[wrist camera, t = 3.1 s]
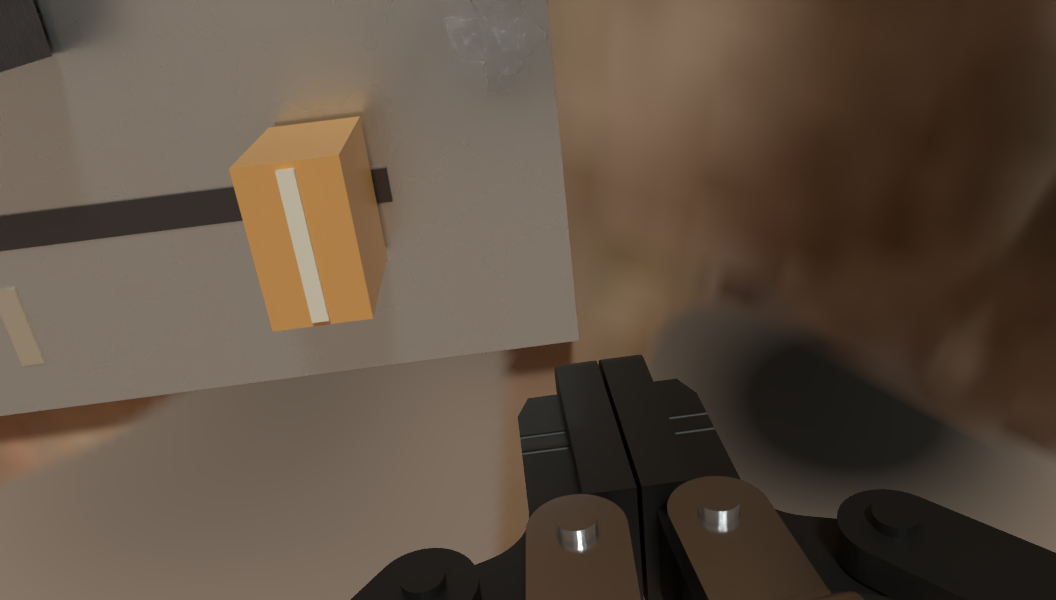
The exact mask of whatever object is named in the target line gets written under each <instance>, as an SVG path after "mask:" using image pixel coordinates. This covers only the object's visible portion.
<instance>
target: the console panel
mask: <svg viewBox="0 0 1056 600" xmlns="http://www.w3.org/2000/svg"><path fill="white" fill-rule="evenodd" d="M358 116H360V119H361V124H362V129H363V135H364V140H365V145H366V150H367V155H368V160H369V165H370V170H371V176H372V181H373V186H374V191H375V196H376V201H377V206H378V211H379V216H380V222H381V227H382V232H383V237H384V242H385V247H386V252H387V261H386V266H385V270H384V274H383V279H382V283H381V287H380V292H379V296H378V300H377V305H376V309H375V313H374V318H373V319H367V320H359V321H351V322H344V323H336V324H328V325H320V326H313V327H305V328H297V329H290V330H282V331H274V332H273V331H272V327H271V323H270V320H269V316H268V312H267V308H266V305H265V301H264V297H263V294H262V290H261V286H260V282H259V279H258V275H257V271H256V268H255V264H254V260H253V257H252V253H251V249H250V245H249V242H248V238H247V234H246V231H245V227H244V223H243V219H242V216H241V212H240V208H239V205H238V201H237V197H236V194H235V190H234V186H233V182H232V179H231V175H230V171H229V168H230V167H231V166H232V165H233V164H234V163H235V162H236V161H237V160H238V159H239V158H240V157H241V156H242V155H243V153H244V152H245V151H246V150H247V149H248V148H249V147H250V146H251V145H252V144H253V143H254V142H255V141H256V140H257V139H258V138H259V137H260V136H261V135H262V134H263V133H264V132H265V131H266V130H267V129H268V128H270V127H278V126H286V125H294V124H302V123H310V122H318V121H326V120H334V119H342V118H350V117H358ZM571 341H579V335H578V325H577V314H576V304H575V293H574V282H573V272H572V261H571V250H570V240H569V229H568V219H567V208H566V197H565V187H564V176H563V165H562V155H561V144H560V133H559V123H558V112H557V102H556V91H555V80H554V70H553V59H552V48H551V38H550V27H549V17H548V6H547V0H0V416H5V415H13V414H20V413H28V412H36V411H43V410H51V409H59V408H66V407H74V406H82V405H89V404H97V403H105V402H112V401H120V400H127V399H135V398H143V397H150V396H158V395H166V394H173V393H181V392H189V391H196V390H204V389H212V388H219V387H227V386H235V385H242V384H249V383H257V382H265V381H272V380H280V379H288V378H296V377H303V376H311V375H319V374H327V373H333V372H342V371H349V370H357V369H365V368H371V367H380V366H388V365H395V364H403V363H411V362H418V361H426V360H434V359H441V358H449V357H457V356H464V355H471V354H480V353H487V352H495V351H503V350H510V349H518V348H526V347H533V346H541V345H549V344H556V343H564V342H571Z"/></svg>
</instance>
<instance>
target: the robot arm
mask: <svg viewBox="0 0 1056 600" xmlns="http://www.w3.org/2000/svg"><path fill="white" fill-rule="evenodd" d="M555 381H556V390H557V395H550V396H543V397H535V398H528V400H527V401H526V403H525V405H524V407H523V409H522V410H521V412H520V414H519V416H518V422H519V431H520V439H521V448H522V456H523V465H524V473H525V482H526V490H527V499H528V507H529V520H528V523H527V526H526V531H525V532H524V534H523V535H522V537H521V538H520V539H519V540H518V541H517V542H516V544H514V545H513V546H512V547H511V548H509V549H508V550H507V551H505V552H503V553H502V554H500V555H498V556H496V557H494V558H491V559H489V560H487V561H484V562H482V563H479V564H477V565H474V564H473V563H472V562H471V560H470V559H469V558H467V557H466V556H465V555H463V554H461V553H459V552H456V551H453V550H450V549H444V548H429V549H422V550H418V551H414V552H411V553H408V554H405V555H403V556H401V557H399V558H397V559H396V560H394V561H393V562H391V563H390V564H389V565H387V566H386V567H385V568H384V569H383V570H382V571H381V572H379V573H378V574H377V576H375V577H374V578H373V579H372V580H371V581H370V582H369V583H368V584H367V585H366V586H365V587H364V588H362V590H360V591H359V592H358V593H357V594H356V595H355V596H354V597H353V598H352V599H351V600H644V599H645V600H1056V553H1055V552H1052V551H1050V550H1047V549H1045V548H1042V547H1040V546H1038V545H1035V544H1033V543H1030V542H1028V541H1025V540H1023V539H1021V538H1018V537H1016V536H1013V535H1011V534H1008V533H1006V532H1004V531H1001V530H999V529H996V528H994V527H991V526H989V525H986V524H984V523H982V522H979V521H977V520H974V519H972V518H970V517H967V516H965V515H962V514H960V513H957V512H955V511H952V510H950V509H948V508H945V507H943V506H940V505H938V504H935V503H933V502H931V501H928V500H926V499H923V498H921V497H918V496H915V495H912V494H910V493H905V492H901V491H895V490H885V489H879V490H868V491H863V492H860V493H857V494H854V495H852V496H850V497H849V498H847V499H846V500H845V501H844V502H843V503H842V504H841V505H840V507H839V510H838V514H837V519H832V518H821V517H811V516H801V515H794V514H789V513H785V512H782V511H779V510H776V509H774V507H773V506H772V505H771V503H770V501H769V500H768V499H767V497H766V496H765V495H764V493H762V492H761V491H760V490H759V489H758V488H756V487H755V486H753V485H751V484H749V483H747V482H745V481H742V480H741V479H740V477H739V475H738V474H737V472H736V469H735V468H734V466H733V464H732V462H731V460H730V458H729V456H728V454H727V452H726V450H725V448H724V446H723V444H722V442H721V440H720V438H719V436H718V434H717V432H716V430H714V427H713V424H712V422H711V420H710V418H709V417H708V415H706V411H705V409H704V407H703V405H702V403H701V401H700V399H699V397H698V395H697V393H696V392H694V391H693V390H692V389H690V388H689V387H687V386H686V385H684V384H683V383H682V382H680V381H679V380H677V379H671V380H664V381H656V382H653V379H652V377H651V375H650V372H649V370H648V368H647V365H646V363H645V361H644V358H643V356H642V355H634V356H626V357H619V358H611V359H603V360H599V366H598V363H597V361H589V362H581V363H574V364H566V365H558V366H555ZM643 595H644V597H643Z"/></svg>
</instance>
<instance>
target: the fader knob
mask: <svg viewBox="0 0 1056 600" xmlns="http://www.w3.org/2000/svg"><path fill="white" fill-rule="evenodd" d="M229 171H230V175H231V179H232V182H233V186H234V190H235V194H236V197H237V201H238V205H239V208H240V212H241V216H242V219H243V223H244V227H245V231H246V234H247V238H248V242H249V245H250V249H251V253H252V257H253V260H254V264H255V268H256V271H257V275H258V279H259V282H260V286H261V290H262V294H263V297H264V301H265V305H266V308H267V312H268V316H269V320H270V323H271V327H272V331H273V332H274V331H282V330H290V329H297V328H305V327H313V326H320V325H328V324H336V323H344V322H351V321H359V320H367V319H373V318H374V313H375V309H376V305H377V300H378V296H379V292H380V287H381V283H382V279H383V274H384V270H385V266H386V261H387V252H386V247H385V242H384V237H383V232H382V227H381V222H380V216H379V211H378V206H377V201H376V196H375V191H374V186H373V181H372V176H371V170H370V165H369V160H368V155H367V150H366V145H365V140H364V135H363V129H362V124H361V119H360V116H358V117H350V118H342V119H334V120H326V121H318V122H310V123H302V124H294V125H286V126H278V127H270V128H268V129H267V130H266V131H265V132H264V133H263V134H262V135H261V136H260V137H259V138H258V139H257V140H256V141H255V142H254V143H253V144H252V145H251V146H250V147H249V148H248V149H247V150H246V151H245V152H244V153H243V155H242V156H241V157H240V158H239V159H238V160H237V161H236V162H235V163H234V164H233V165H232V166H231V167H230V168H229Z"/></svg>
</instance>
